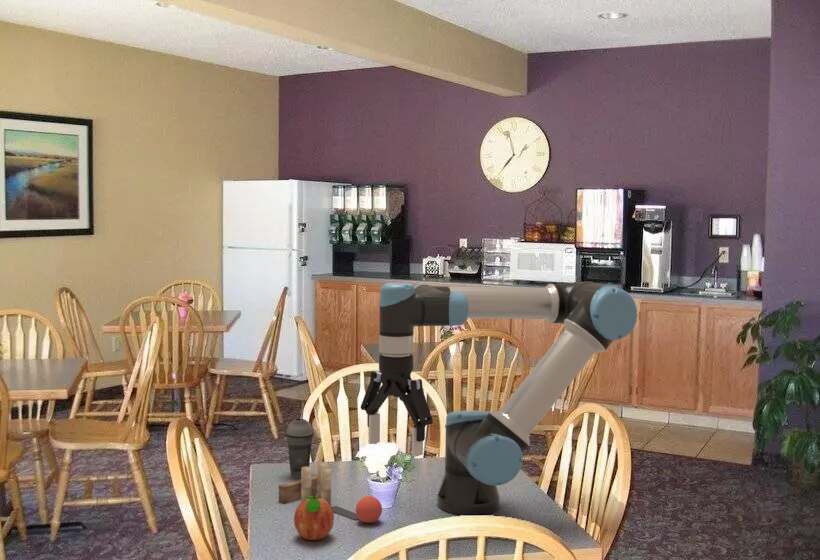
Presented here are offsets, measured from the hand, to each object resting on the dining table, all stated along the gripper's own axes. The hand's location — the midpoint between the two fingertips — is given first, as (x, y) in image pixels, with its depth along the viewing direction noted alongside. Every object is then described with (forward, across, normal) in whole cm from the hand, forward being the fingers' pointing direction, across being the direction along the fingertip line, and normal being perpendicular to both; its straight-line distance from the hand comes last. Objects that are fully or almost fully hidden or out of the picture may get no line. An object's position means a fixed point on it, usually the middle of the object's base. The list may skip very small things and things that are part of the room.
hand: (395, 449), depth 199 cm
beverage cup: (+19, +46, -9) cm, 50 cm away
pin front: (+19, +23, 0) cm, 30 cm away
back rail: (+19, +33, +1) cm, 38 cm away
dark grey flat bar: (+19, +16, 0) cm, 25 cm away
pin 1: (+19, +27, +3) cm, 33 cm away
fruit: (+19, +9, +15) cm, 26 cm away
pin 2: (+19, +28, -2) cm, 33 cm away
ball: (+16, +8, 0) cm, 18 cm away
